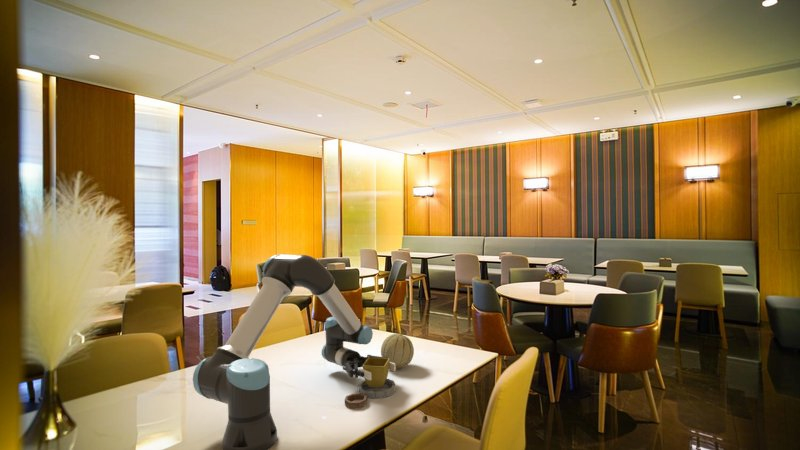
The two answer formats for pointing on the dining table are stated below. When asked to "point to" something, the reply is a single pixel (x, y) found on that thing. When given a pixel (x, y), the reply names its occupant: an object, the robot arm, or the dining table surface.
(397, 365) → the cantaloupe
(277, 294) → the robot arm
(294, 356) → the dining table surface
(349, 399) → the brown octagonal saucer
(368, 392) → the grey saucer
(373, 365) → the flower pot
